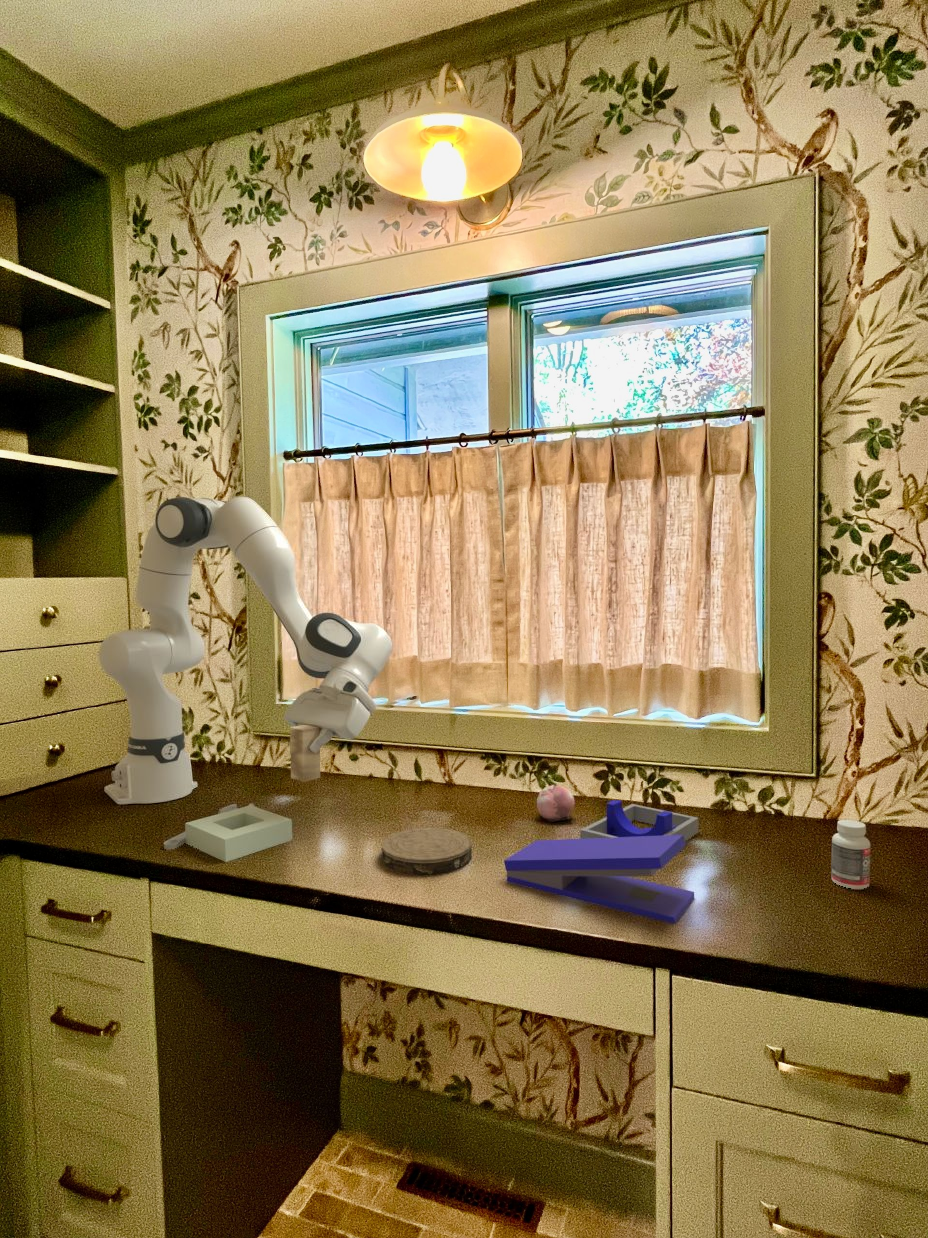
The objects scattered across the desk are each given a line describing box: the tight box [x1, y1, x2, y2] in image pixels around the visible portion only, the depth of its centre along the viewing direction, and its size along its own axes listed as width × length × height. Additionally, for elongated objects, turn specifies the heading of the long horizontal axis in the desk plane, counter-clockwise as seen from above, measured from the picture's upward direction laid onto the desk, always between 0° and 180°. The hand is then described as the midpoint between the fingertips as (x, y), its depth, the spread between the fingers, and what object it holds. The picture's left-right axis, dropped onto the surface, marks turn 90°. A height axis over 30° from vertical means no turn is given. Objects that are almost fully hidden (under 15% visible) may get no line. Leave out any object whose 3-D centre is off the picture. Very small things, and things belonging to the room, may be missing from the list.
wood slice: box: [381, 827, 473, 877], centre depth 128 cm, size 16×16×3 cm
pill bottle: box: [831, 819, 871, 890], centre depth 115 cm, size 5×5×10 cm
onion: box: [536, 784, 576, 823], centre depth 148 cm, size 8×8×7 cm
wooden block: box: [289, 724, 321, 783], centre depth 140 cm, size 4×4×10 cm
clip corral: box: [579, 803, 699, 842], centre depth 135 cm, size 14×20×3 cm
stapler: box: [503, 835, 695, 925], centre depth 114 cm, size 12×28×10 cm, turn 57°
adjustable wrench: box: [163, 803, 256, 851], centre depth 145 cm, size 25×6×2 cm, turn 158°
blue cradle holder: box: [606, 799, 676, 837], centre depth 135 cm, size 12×4×6 cm, turn 47°
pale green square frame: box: [184, 804, 293, 863], centre depth 136 cm, size 14×14×4 cm
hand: (302, 748), depth 140 cm, fingers closed on wooden block, 4 cm apart
